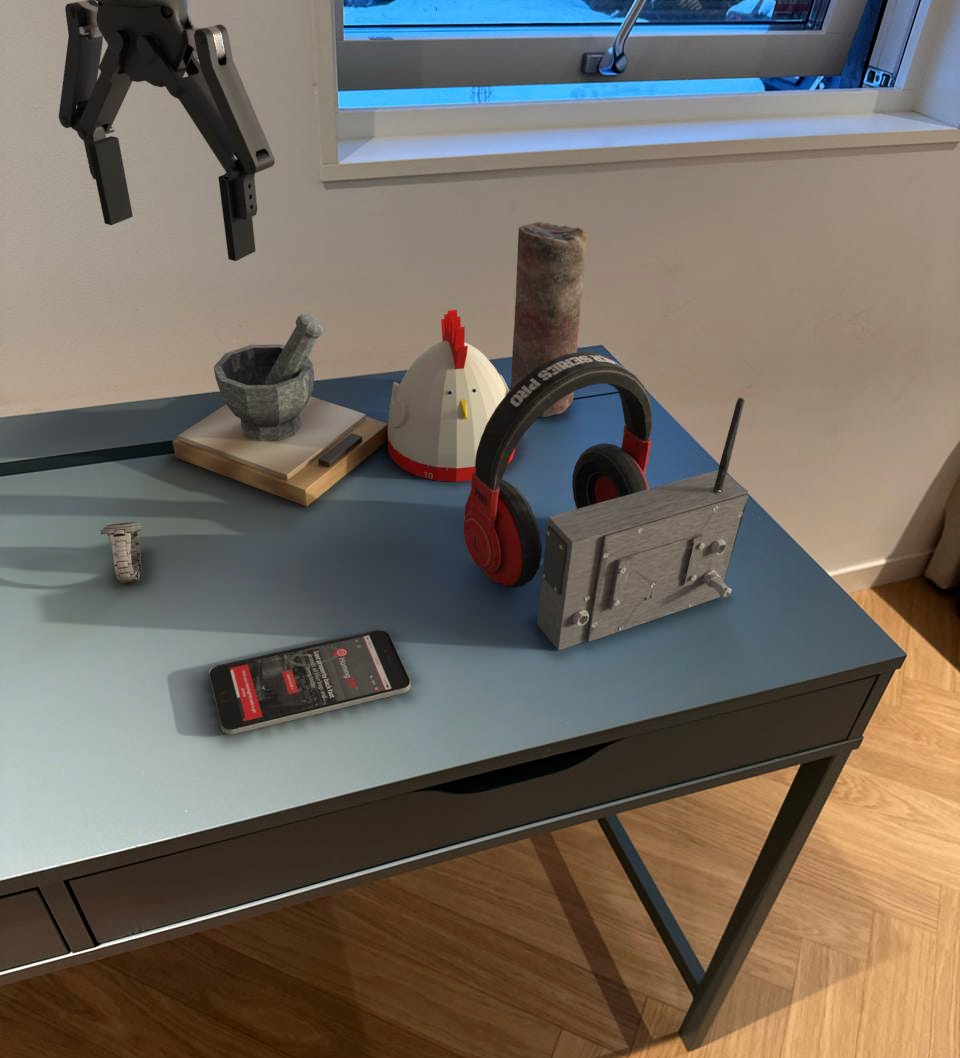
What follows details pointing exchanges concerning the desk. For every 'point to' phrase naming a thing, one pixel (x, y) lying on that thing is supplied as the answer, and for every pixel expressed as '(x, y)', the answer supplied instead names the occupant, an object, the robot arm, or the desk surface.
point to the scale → (285, 450)
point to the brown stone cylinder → (547, 299)
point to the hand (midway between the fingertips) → (179, 237)
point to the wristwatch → (125, 550)
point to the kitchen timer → (444, 407)
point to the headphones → (599, 475)
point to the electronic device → (640, 554)
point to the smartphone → (307, 681)
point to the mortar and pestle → (270, 382)
